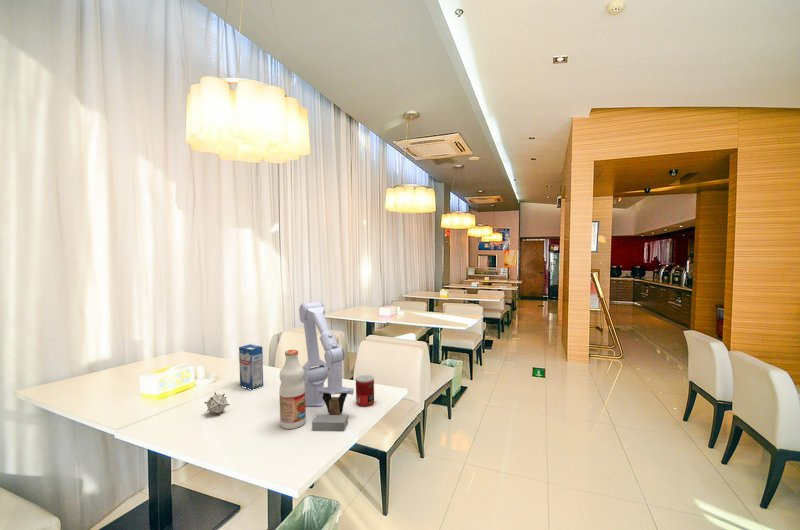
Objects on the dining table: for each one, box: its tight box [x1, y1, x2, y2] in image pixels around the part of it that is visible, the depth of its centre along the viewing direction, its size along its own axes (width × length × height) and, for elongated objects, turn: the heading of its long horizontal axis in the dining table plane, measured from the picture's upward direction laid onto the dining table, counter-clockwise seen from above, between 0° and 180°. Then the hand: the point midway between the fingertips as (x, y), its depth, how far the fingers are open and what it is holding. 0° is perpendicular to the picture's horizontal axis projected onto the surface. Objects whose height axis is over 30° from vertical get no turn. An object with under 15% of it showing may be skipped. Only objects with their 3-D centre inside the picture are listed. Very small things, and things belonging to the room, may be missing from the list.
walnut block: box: [328, 396, 343, 415], centre depth 136 cm, size 4×4×7 cm
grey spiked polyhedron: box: [204, 392, 231, 416], centre depth 141 cm, size 9×8×10 cm
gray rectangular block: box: [311, 414, 349, 432], centre depth 128 cm, size 12×6×3 cm, turn 87°
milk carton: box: [238, 344, 264, 391], centre depth 170 cm, size 10×6×20 cm, turn 58°
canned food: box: [355, 374, 375, 408], centre depth 148 cm, size 8×8×11 cm
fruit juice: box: [279, 349, 307, 430], centre depth 131 cm, size 9×9×28 cm
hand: (335, 411), depth 136 cm, fingers closed on walnut block, 4 cm apart
